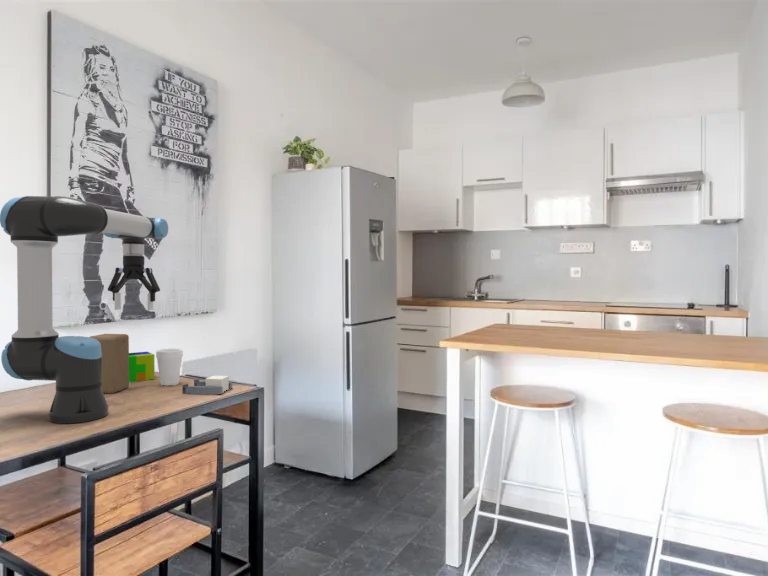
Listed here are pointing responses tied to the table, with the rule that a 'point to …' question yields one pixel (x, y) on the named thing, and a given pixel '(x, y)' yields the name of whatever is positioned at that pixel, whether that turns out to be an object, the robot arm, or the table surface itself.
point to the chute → (202, 388)
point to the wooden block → (114, 361)
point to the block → (218, 382)
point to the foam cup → (169, 365)
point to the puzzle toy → (141, 366)
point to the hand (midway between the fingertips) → (134, 309)
